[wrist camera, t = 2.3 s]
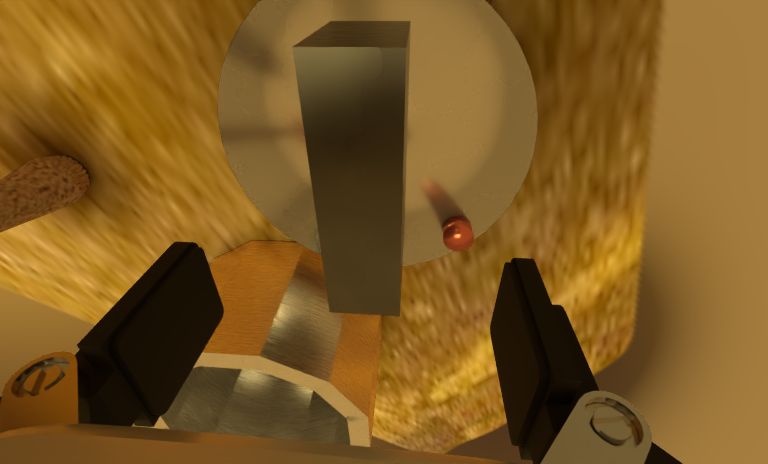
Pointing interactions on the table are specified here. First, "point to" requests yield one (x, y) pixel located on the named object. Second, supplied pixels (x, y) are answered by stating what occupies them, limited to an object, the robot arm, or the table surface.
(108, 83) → the table surface
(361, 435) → the pot
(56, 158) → the mushroom
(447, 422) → the table surface
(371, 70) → the lid
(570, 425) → the robot arm
